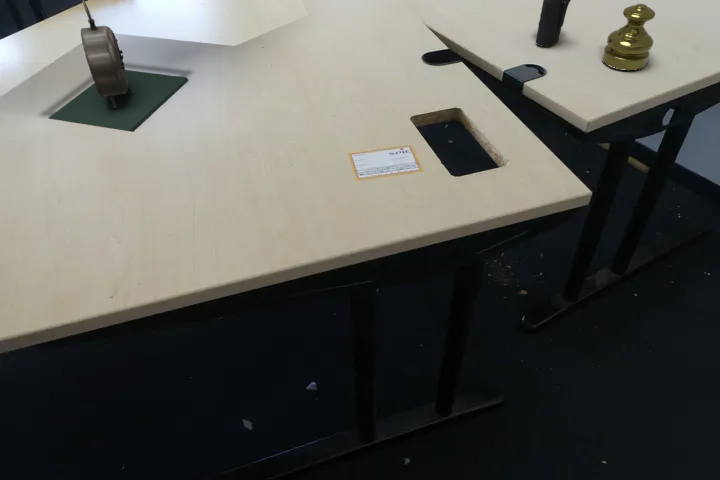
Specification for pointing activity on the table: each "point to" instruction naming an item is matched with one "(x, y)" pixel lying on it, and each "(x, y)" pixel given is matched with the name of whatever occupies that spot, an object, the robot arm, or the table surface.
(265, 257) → the table surface
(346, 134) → the table surface
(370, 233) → the table surface
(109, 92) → the alarm clock
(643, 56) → the gold round tapered piece
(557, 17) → the two-way radio
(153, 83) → the desk mat
